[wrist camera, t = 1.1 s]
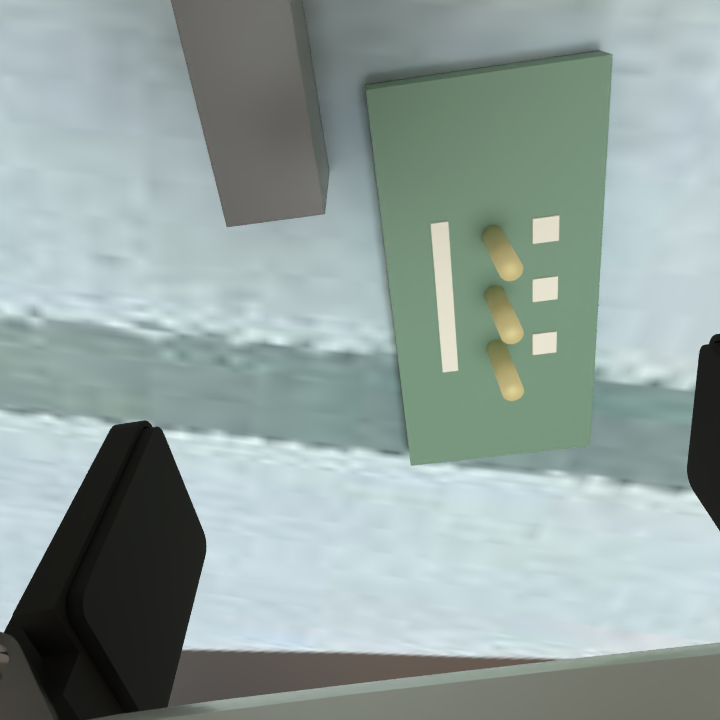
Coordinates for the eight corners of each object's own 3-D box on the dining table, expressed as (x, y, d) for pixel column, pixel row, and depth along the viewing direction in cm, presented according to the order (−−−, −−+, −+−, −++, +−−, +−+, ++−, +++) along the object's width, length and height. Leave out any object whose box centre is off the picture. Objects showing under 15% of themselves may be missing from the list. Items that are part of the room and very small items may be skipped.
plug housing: (183, -105, 25) (137, -126, 19) (284, -121, 24) (266, -147, 19) (246, 183, 30) (225, 228, 25) (330, 172, 30) (325, 214, 25)
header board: (364, 85, 28) (367, 107, 23) (600, 50, 28) (651, 66, 23) (409, 449, 38) (417, 516, 34) (581, 429, 38) (614, 495, 33)
